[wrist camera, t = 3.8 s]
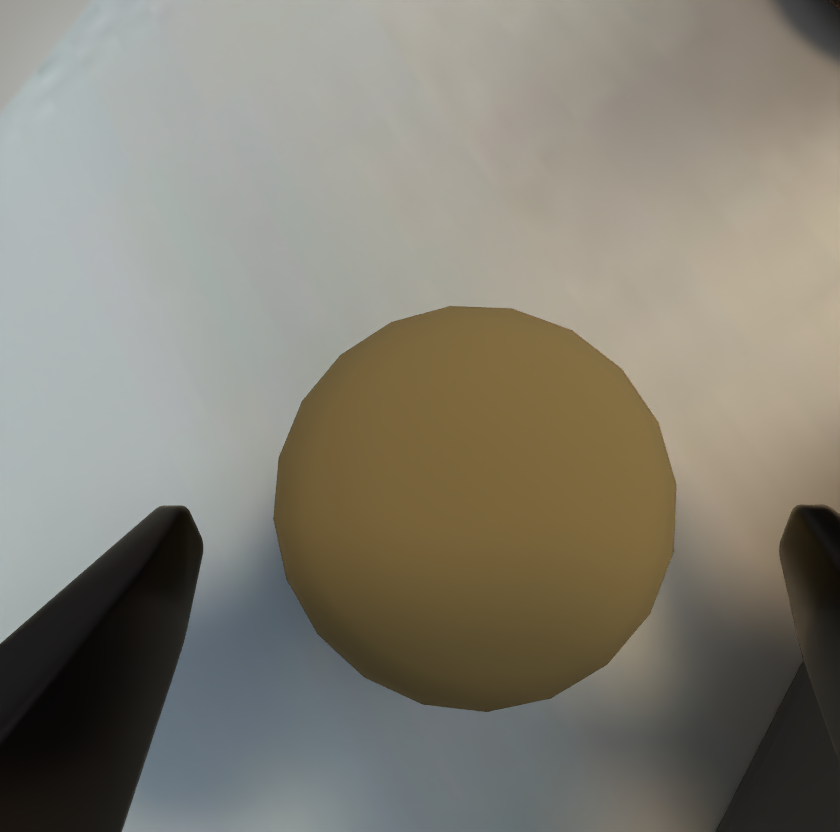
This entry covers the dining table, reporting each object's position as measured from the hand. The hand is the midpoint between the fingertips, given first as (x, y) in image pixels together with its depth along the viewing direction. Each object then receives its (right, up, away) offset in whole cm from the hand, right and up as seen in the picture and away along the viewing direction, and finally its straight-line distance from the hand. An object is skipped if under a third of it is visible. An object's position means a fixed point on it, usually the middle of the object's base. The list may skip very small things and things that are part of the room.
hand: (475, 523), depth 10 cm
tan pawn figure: (+1, 0, +8) cm, 8 cm away
